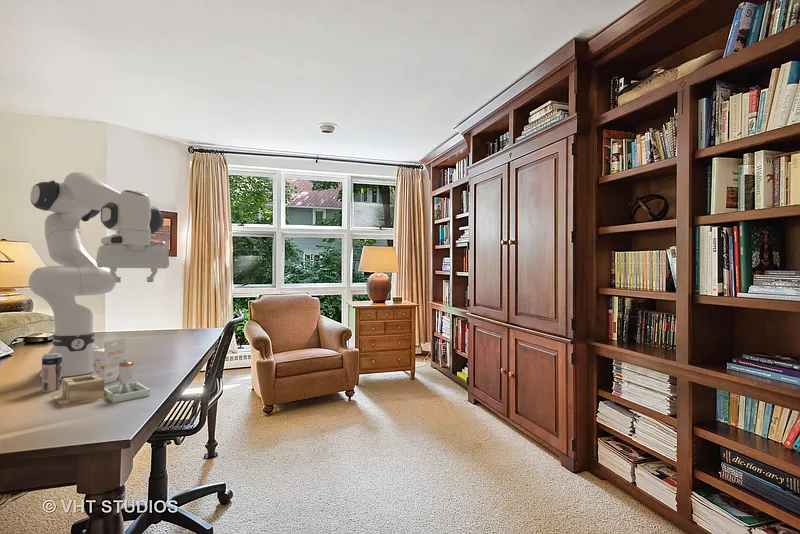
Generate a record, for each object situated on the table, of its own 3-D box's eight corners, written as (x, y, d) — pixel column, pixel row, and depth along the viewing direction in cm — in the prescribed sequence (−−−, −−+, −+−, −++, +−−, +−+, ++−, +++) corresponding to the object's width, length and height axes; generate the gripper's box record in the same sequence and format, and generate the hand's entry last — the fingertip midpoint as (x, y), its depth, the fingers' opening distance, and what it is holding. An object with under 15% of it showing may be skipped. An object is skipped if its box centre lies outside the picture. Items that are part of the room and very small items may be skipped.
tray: (102, 397, 124) (102, 388, 124) (137, 390, 131) (137, 382, 131) (113, 406, 117) (113, 396, 117) (149, 398, 124) (149, 389, 124)
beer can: (62, 392, 128) (63, 353, 128) (42, 396, 125) (43, 356, 125) (60, 389, 132) (60, 351, 132) (40, 392, 128) (40, 353, 128)
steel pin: (117, 396, 124) (117, 362, 124) (131, 393, 127) (131, 360, 127) (120, 398, 121) (121, 364, 121) (134, 396, 124) (135, 362, 124)
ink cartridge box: (114, 379, 144) (114, 336, 144) (126, 380, 143) (126, 337, 143) (91, 386, 136) (91, 341, 136) (103, 387, 135) (104, 341, 135)
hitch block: (51, 398, 123) (52, 377, 123) (100, 389, 132) (100, 370, 132) (63, 411, 112) (63, 389, 112) (115, 401, 121) (115, 380, 121)
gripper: (165, 242, 146) (165, 281, 146) (95, 238, 130) (94, 282, 130) (172, 241, 142) (171, 282, 141) (100, 237, 126) (99, 283, 126)
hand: (134, 282), depth 136 cm, fingers open, 8 cm apart
